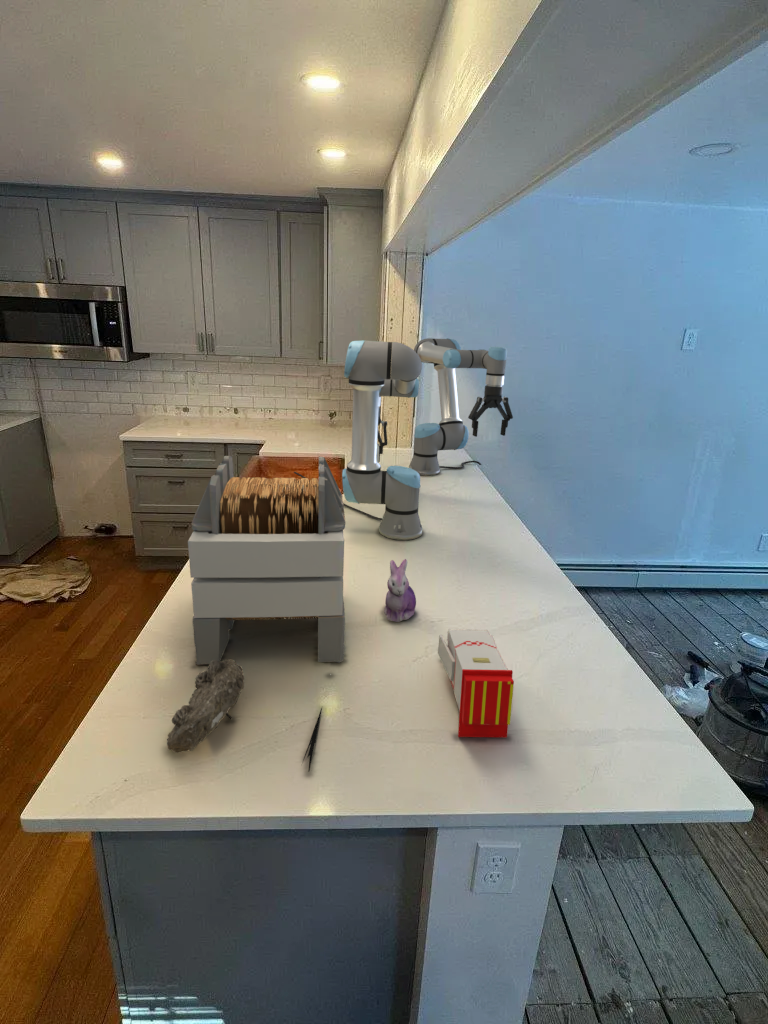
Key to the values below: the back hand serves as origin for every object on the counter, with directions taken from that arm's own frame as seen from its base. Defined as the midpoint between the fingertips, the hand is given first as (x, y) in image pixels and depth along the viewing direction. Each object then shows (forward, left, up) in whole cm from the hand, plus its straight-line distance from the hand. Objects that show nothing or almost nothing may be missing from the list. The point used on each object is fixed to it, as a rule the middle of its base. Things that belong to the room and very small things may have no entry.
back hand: (488, 435), depth 244 cm
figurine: (+110, +43, -25) cm, 121 cm away
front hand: (+39, -34, -12) cm, 53 cm away
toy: (+125, +73, -25) cm, 147 cm away
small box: (+39, -34, -14) cm, 53 cm away
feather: (+152, +57, -25) cm, 164 cm away
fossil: (+166, +42, -25) cm, 173 cm away
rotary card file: (+136, +24, -25) cm, 141 cm away
